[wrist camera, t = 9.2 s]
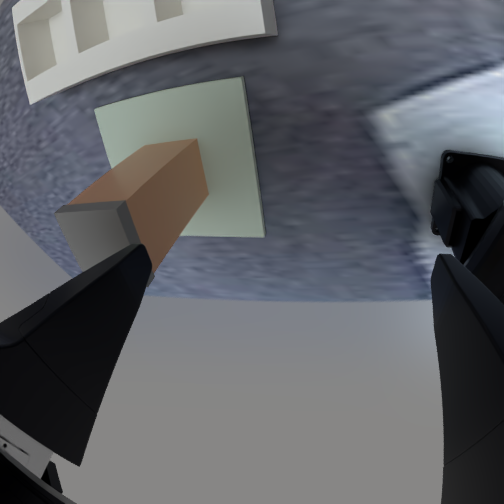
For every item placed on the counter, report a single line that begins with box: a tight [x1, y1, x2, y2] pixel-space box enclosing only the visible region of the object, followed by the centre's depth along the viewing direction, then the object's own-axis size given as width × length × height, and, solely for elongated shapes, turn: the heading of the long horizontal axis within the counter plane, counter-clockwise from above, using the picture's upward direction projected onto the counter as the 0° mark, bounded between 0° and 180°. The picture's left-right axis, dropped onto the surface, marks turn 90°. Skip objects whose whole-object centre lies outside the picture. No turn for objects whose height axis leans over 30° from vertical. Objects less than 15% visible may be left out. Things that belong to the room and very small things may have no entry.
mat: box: [94, 76, 266, 237], centre depth 22 cm, size 12×12×1 cm
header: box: [12, 0, 278, 105], centre depth 13 cm, size 18×9×4 cm, turn 97°
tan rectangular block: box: [54, 138, 209, 287], centre depth 18 cm, size 5×5×10 cm
